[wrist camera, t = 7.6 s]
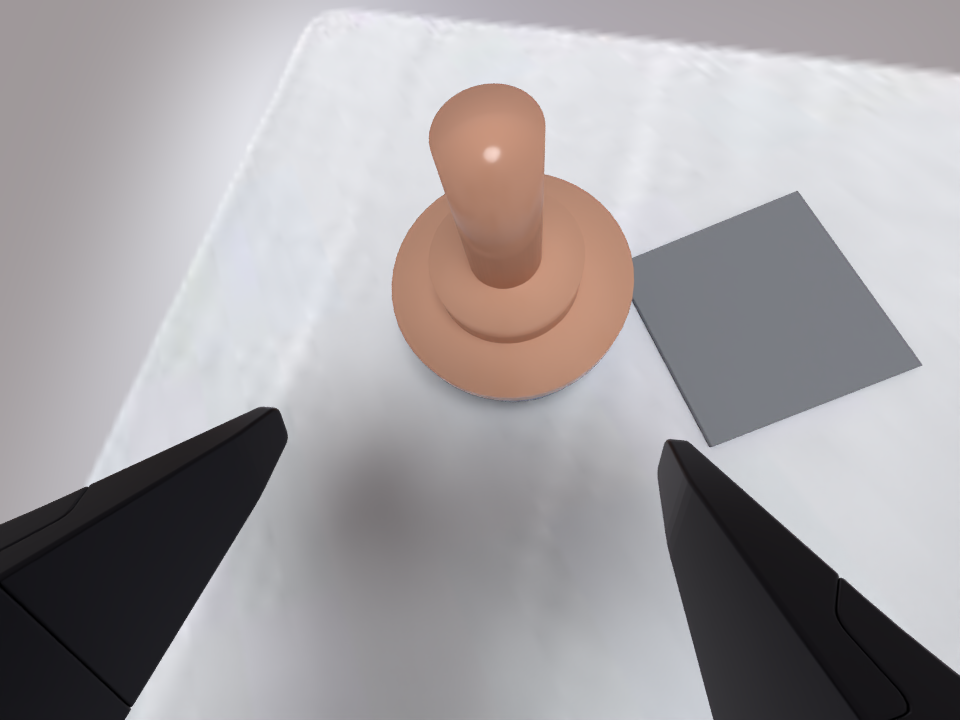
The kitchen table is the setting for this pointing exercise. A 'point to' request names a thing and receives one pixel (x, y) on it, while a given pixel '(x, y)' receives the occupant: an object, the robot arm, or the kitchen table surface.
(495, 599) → the kitchen table surface
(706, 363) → the mat
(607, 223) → the lid
